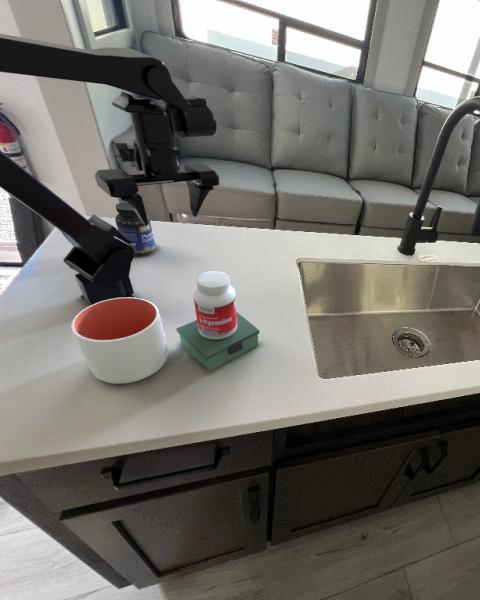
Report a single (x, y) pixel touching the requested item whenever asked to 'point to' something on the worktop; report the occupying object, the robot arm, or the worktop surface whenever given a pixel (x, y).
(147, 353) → the cup
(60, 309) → the worktop surface
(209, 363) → the lunchbox
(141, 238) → the pill bottle
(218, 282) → the pill bottle
